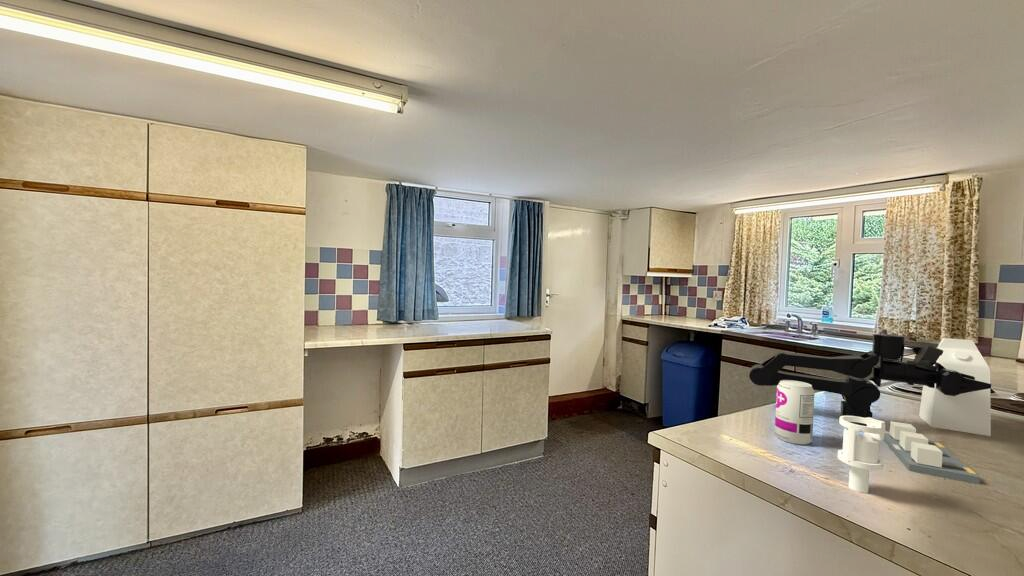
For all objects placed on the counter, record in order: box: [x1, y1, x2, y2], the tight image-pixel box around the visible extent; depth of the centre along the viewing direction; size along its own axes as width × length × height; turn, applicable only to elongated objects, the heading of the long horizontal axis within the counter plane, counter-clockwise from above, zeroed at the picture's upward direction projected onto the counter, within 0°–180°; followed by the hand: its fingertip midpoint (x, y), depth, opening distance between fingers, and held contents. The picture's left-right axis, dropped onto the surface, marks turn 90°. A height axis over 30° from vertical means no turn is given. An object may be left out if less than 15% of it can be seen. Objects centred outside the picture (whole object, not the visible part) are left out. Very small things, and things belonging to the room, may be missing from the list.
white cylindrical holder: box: [837, 416, 886, 494], centre depth 82 cm, size 7×7×15 cm
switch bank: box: [882, 432, 981, 485], centre depth 98 cm, size 11×22×2 cm, turn 150°
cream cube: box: [889, 420, 917, 440], centre depth 106 cm, size 4×4×4 cm
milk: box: [918, 337, 992, 437], centre depth 122 cm, size 12×12×26 cm
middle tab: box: [899, 431, 929, 451], centre depth 99 cm, size 4×4×4 cm
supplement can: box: [774, 380, 816, 446], centre depth 108 cm, size 8×8×15 cm
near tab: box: [911, 442, 943, 468], centre depth 92 cm, size 4×4×4 cm
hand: (982, 382), depth 107 cm, fingers open, 9 cm apart
